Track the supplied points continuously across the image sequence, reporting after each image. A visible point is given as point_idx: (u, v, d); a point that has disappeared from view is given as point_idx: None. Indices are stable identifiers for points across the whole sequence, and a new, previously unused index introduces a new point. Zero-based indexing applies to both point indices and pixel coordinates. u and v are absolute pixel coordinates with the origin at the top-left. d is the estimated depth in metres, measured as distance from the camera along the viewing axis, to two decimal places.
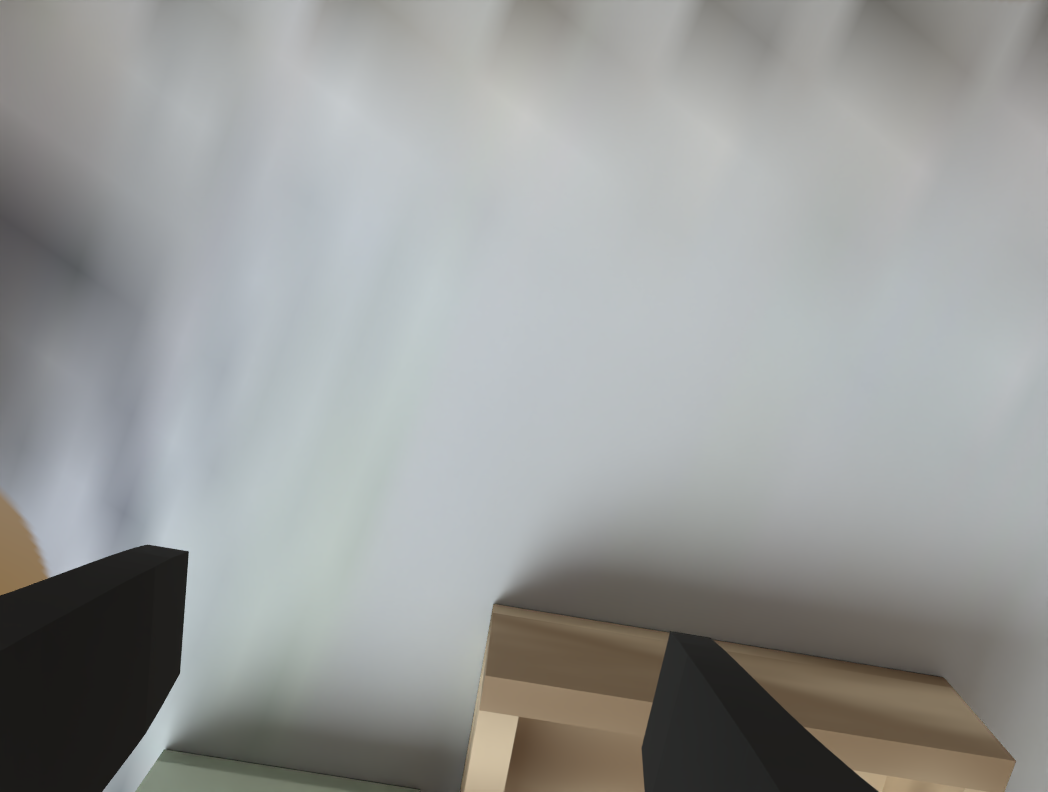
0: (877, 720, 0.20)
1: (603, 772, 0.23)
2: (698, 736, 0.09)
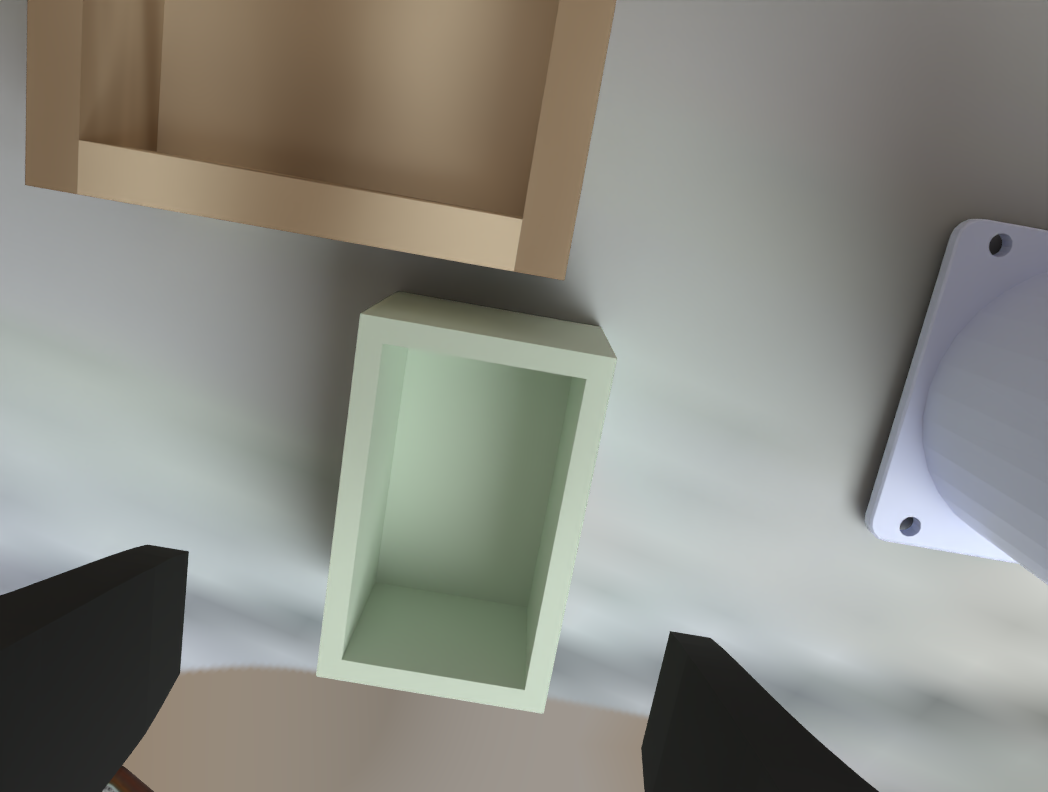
0: None
1: (332, 32, 0.17)
2: (697, 736, 0.09)
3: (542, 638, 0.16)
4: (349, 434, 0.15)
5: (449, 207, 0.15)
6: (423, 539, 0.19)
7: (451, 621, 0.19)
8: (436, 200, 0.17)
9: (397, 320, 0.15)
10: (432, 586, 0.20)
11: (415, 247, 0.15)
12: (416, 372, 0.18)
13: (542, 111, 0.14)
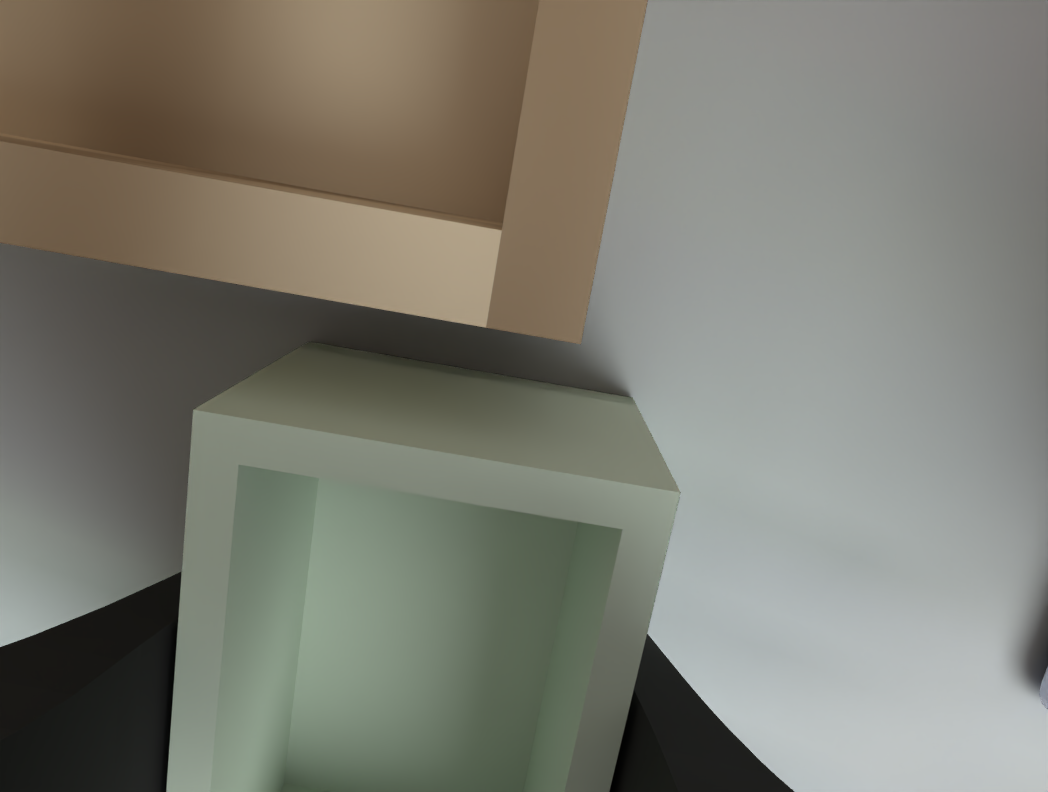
0: None
1: None
2: None
3: None
4: (185, 625, 0.08)
5: (362, 207, 0.08)
6: (355, 722, 0.13)
7: None
8: (364, 196, 0.10)
9: (264, 422, 0.08)
10: (371, 790, 0.13)
11: (300, 282, 0.08)
12: None
13: (539, 19, 0.07)
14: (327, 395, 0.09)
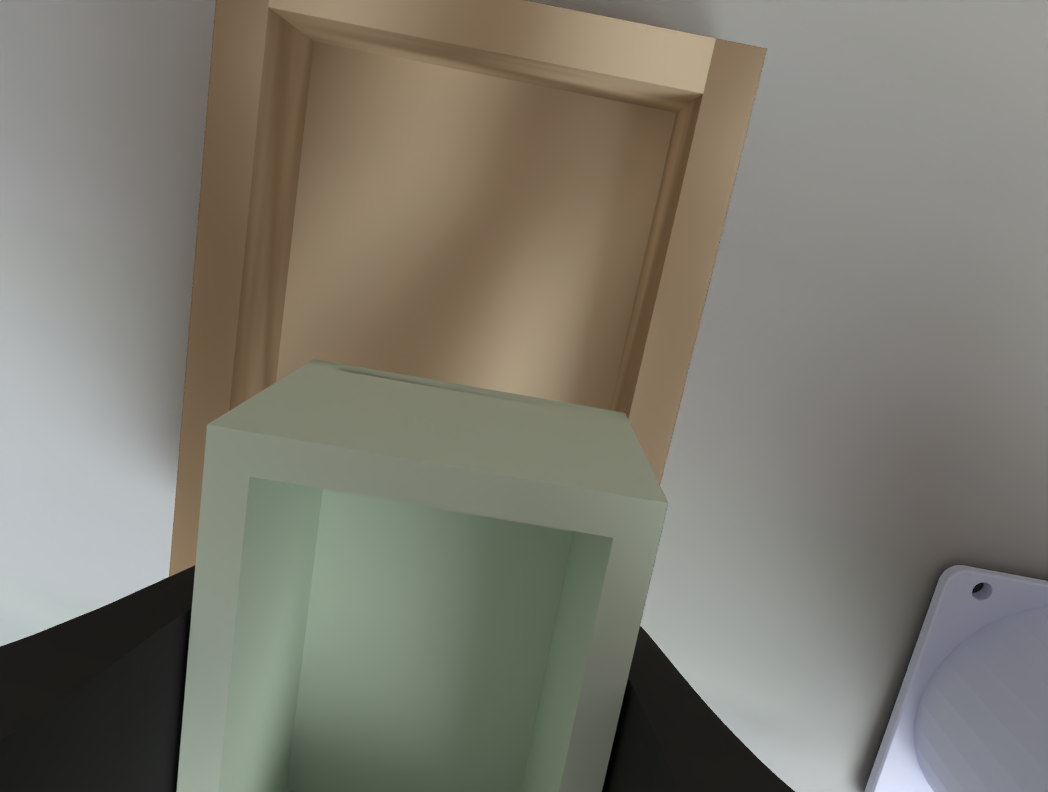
0: None
1: None
2: None
3: None
4: (198, 629, 0.09)
5: None
6: (356, 728, 0.13)
7: None
8: None
9: (274, 436, 0.08)
10: None
11: None
12: None
13: None
14: (332, 410, 0.09)
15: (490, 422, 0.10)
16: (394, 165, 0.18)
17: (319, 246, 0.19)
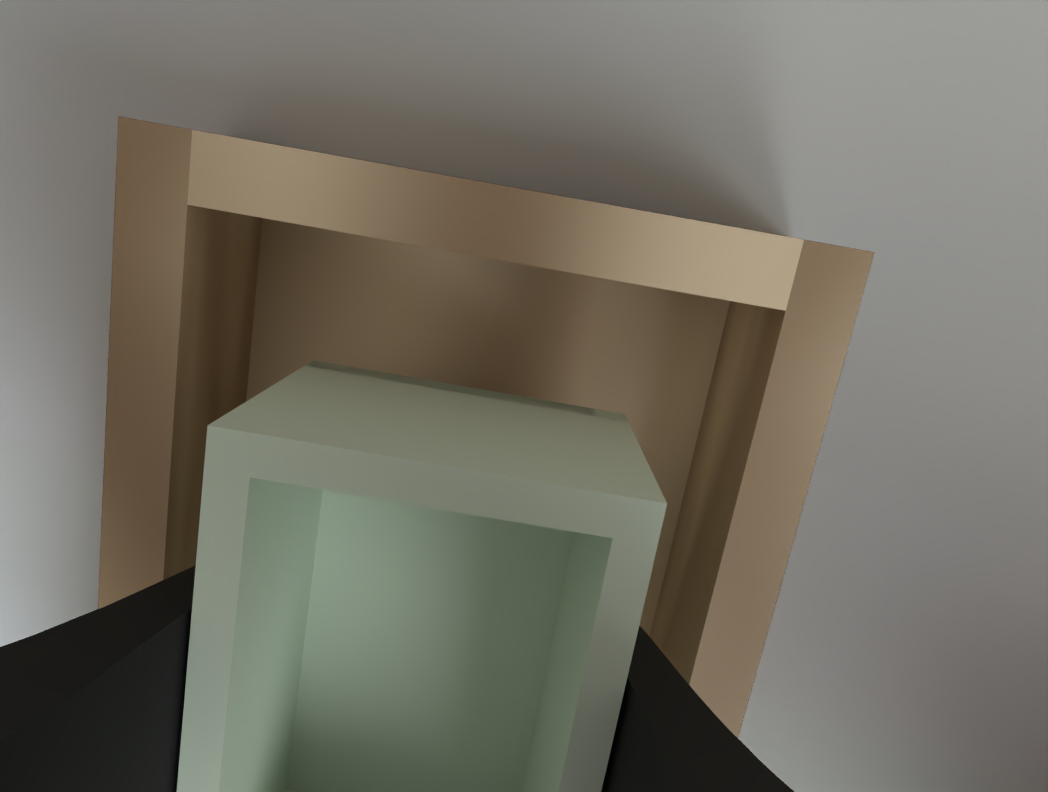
0: None
1: None
2: None
3: None
4: (197, 630, 0.09)
5: None
6: (355, 729, 0.13)
7: None
8: None
9: (274, 437, 0.08)
10: None
11: None
12: None
13: None
14: (332, 411, 0.09)
15: (489, 423, 0.10)
16: (371, 356, 0.14)
17: None
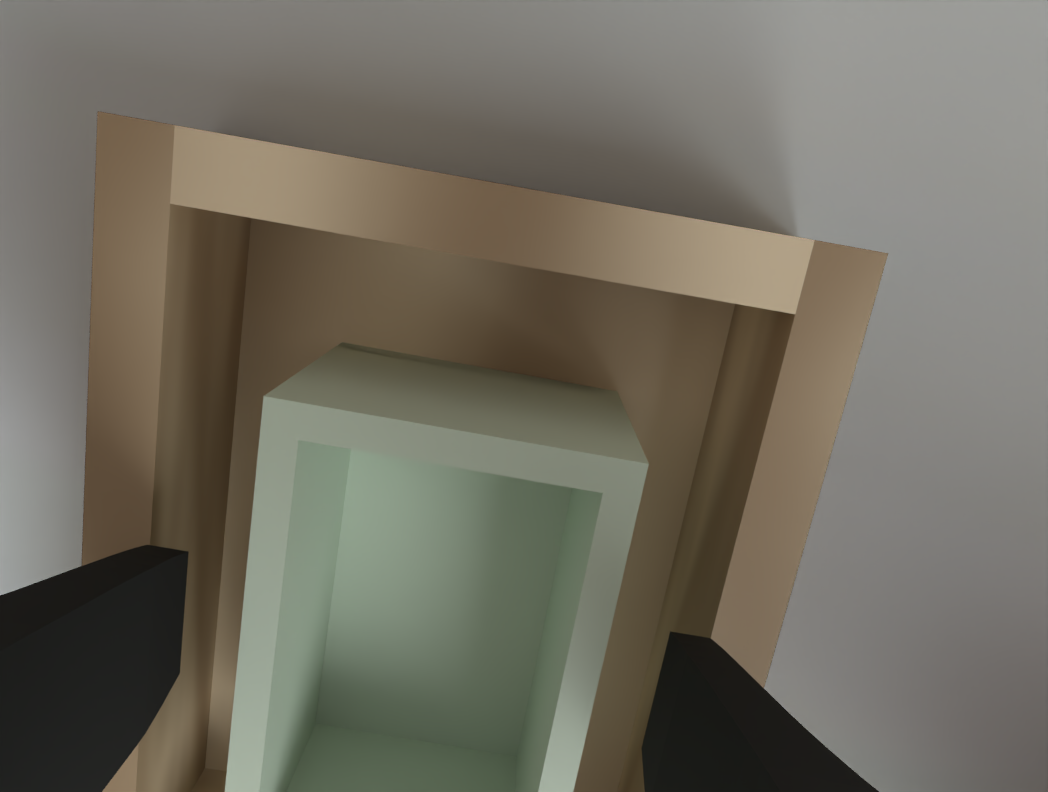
0: None
1: None
2: (698, 736, 0.09)
3: None
4: (253, 569, 0.10)
5: None
6: (377, 669, 0.15)
7: (412, 789, 0.14)
8: None
9: (319, 406, 0.10)
10: (390, 729, 0.15)
11: None
12: (366, 453, 0.14)
13: None
14: (364, 386, 0.11)
15: (498, 397, 0.12)
16: None
17: None
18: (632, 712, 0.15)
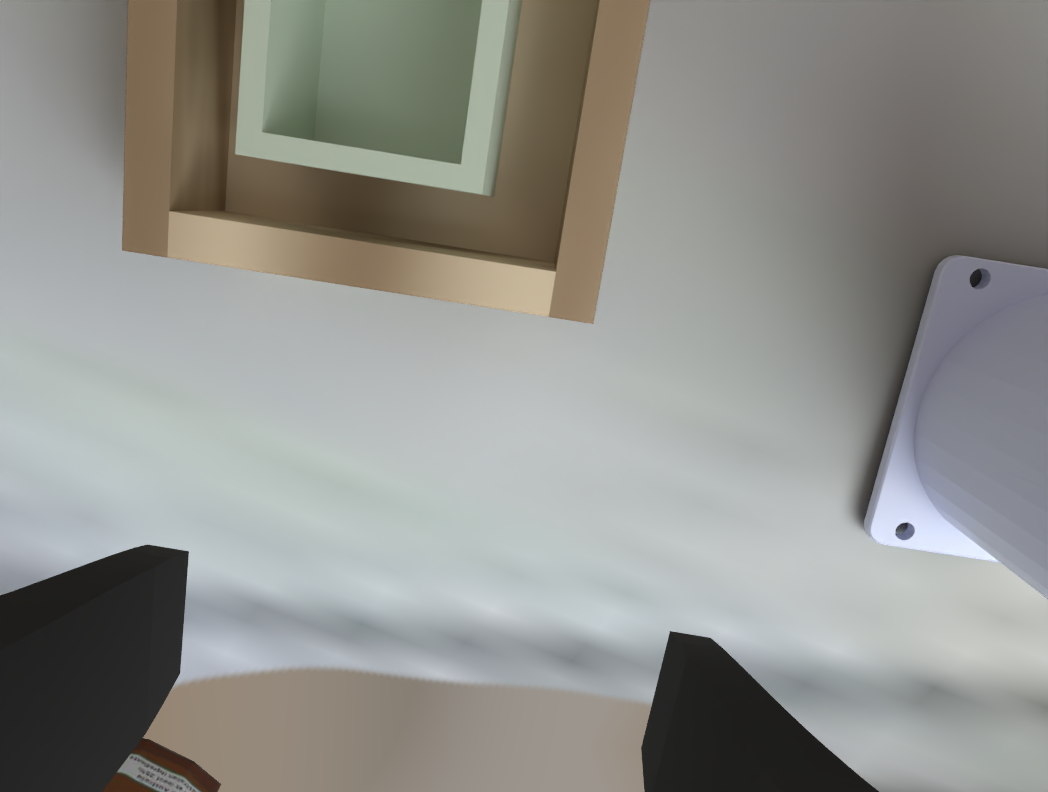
0: None
1: None
2: (697, 736, 0.09)
3: (477, 97, 0.15)
4: None
5: (491, 262, 0.17)
6: (362, 91, 0.18)
7: None
8: (474, 248, 0.19)
9: None
10: (373, 149, 0.18)
11: (462, 297, 0.17)
12: None
13: (572, 179, 0.16)
14: None
15: None
16: None
17: None
18: (569, 145, 0.19)
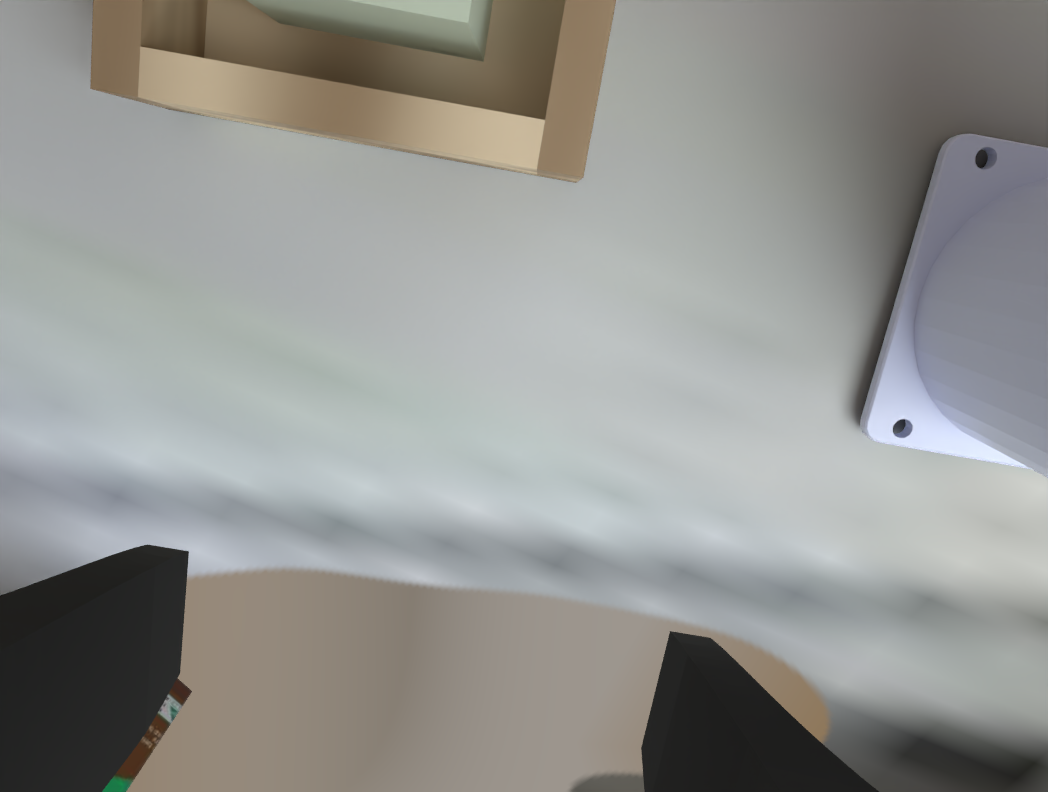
0: None
1: None
2: (698, 737, 0.09)
3: None
4: None
5: (478, 108, 0.16)
6: None
7: None
8: None
9: None
10: None
11: (446, 146, 0.16)
12: None
13: (564, 18, 0.15)
14: None
15: None
16: None
17: None
18: (563, 6, 0.18)
